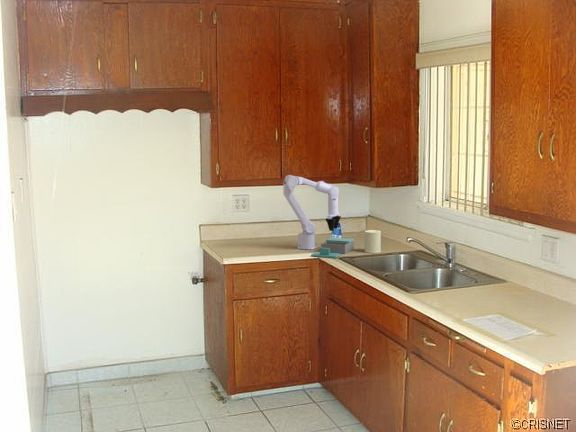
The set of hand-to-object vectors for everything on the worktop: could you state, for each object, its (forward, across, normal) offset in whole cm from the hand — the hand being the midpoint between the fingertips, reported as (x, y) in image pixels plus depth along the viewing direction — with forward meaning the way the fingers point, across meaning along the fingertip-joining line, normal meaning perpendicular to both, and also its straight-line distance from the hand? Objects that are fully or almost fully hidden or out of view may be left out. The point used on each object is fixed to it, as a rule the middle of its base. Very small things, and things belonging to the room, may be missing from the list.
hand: (333, 229), depth 402 cm
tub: (+10, -9, -6) cm, 15 cm away
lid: (+11, -26, -4) cm, 29 cm away
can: (+11, -4, -24) cm, 27 cm away
